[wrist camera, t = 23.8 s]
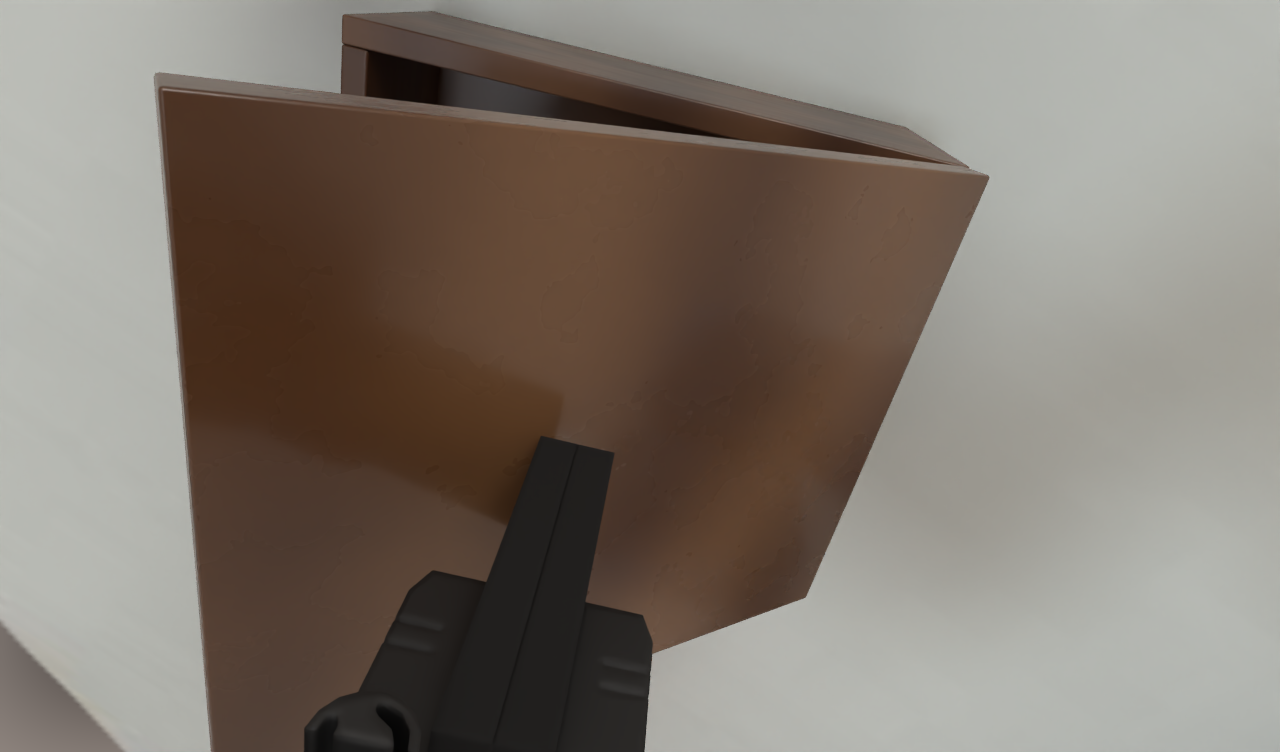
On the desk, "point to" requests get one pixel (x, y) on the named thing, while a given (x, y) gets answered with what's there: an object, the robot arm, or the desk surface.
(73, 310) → the desk surface
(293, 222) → the box lid
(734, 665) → the desk surface
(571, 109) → the storage box
